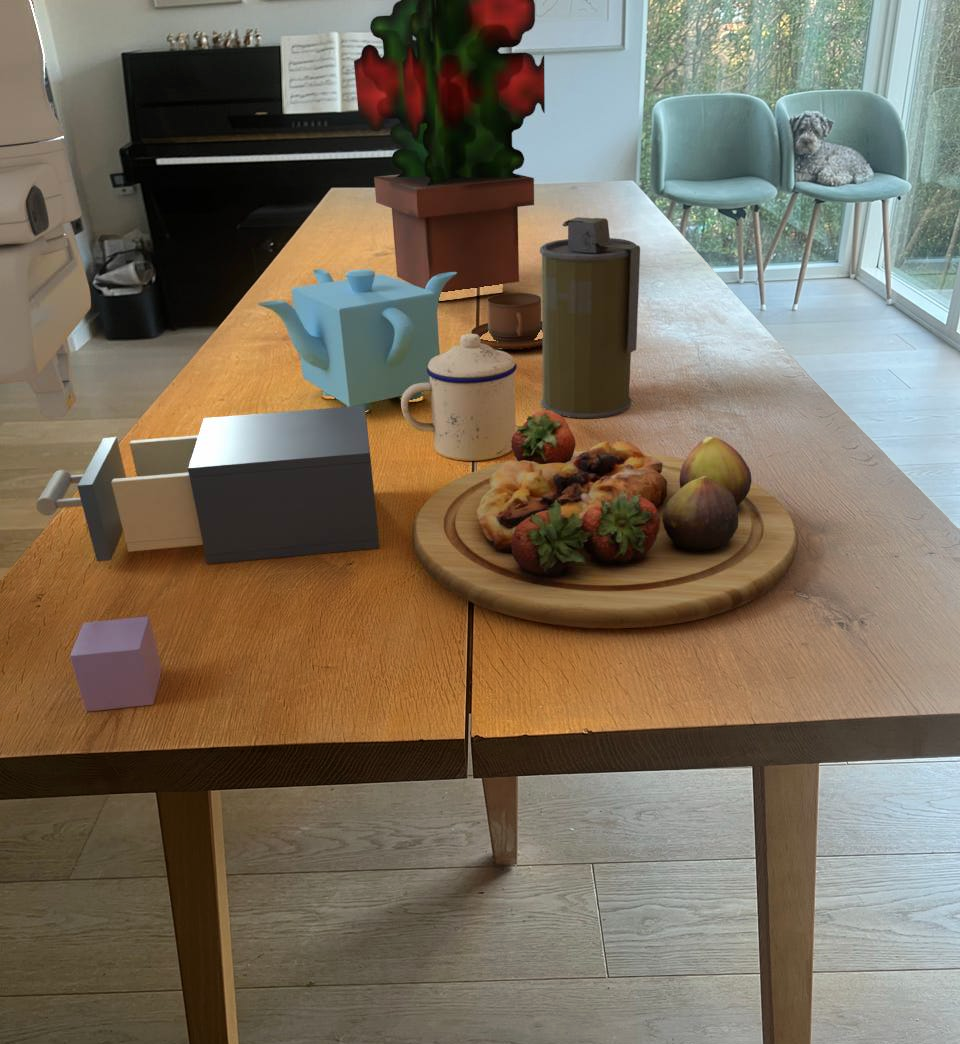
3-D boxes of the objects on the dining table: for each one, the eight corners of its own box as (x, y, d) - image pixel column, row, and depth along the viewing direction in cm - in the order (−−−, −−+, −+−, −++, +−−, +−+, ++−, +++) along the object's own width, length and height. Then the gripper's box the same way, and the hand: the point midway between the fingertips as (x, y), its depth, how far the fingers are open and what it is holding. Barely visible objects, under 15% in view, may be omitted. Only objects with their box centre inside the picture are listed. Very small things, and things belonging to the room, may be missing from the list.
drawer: (42, 566, 85) (20, 490, 81) (71, 512, 95) (52, 442, 91) (259, 546, 86) (247, 471, 83) (266, 495, 96) (255, 425, 93)
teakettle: (422, 426, 114) (413, 290, 106) (267, 418, 118) (248, 287, 111) (465, 376, 130) (459, 255, 122) (327, 371, 134) (313, 253, 126)
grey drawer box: (206, 564, 86) (187, 468, 82) (219, 505, 97) (203, 417, 92) (379, 548, 87) (370, 452, 83) (373, 492, 98) (364, 405, 94)
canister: (523, 410, 117) (520, 224, 107) (570, 385, 124) (571, 209, 114) (607, 425, 112) (612, 231, 101) (650, 398, 119) (659, 215, 109)
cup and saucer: (574, 347, 139) (574, 301, 136) (495, 361, 135) (494, 313, 132) (532, 328, 148) (531, 285, 145) (457, 341, 144) (455, 296, 141)
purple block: (85, 712, 68) (69, 656, 65) (98, 676, 71) (83, 622, 69) (153, 705, 68) (139, 648, 66) (162, 670, 72) (149, 615, 70)
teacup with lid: (507, 428, 112) (504, 320, 106) (527, 457, 104) (525, 342, 98) (399, 440, 110) (390, 331, 104) (411, 470, 102) (402, 354, 97)
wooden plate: (410, 482, 100) (404, 400, 96) (731, 461, 101) (739, 379, 97) (417, 652, 72) (408, 547, 68) (857, 621, 74) (875, 515, 69)
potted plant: (490, 271, 184) (480, -25, 161) (545, 295, 167) (543, -34, 144) (374, 287, 177) (346, -21, 154) (419, 313, 160) (396, -31, 136)
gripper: (-8, 178, 72) (45, 372, 79) (-107, 223, 54) (-28, 467, 62) (84, 172, 72) (128, 365, 80) (15, 214, 55) (79, 457, 62)
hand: (60, 410), depth 70 cm, fingers closed
